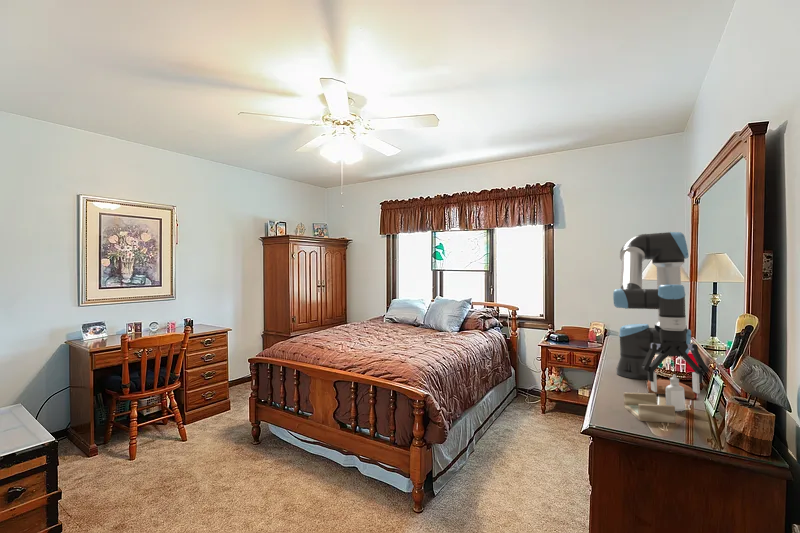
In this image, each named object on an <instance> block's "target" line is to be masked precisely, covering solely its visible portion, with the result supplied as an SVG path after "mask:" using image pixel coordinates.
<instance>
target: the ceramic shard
mask: <svg viewBox="0 0 800 533" xmlns="http://www.w3.org/2000/svg"><path fill="white" fill-rule="evenodd" d="M668 385H670V379H659V378H657V392H654V391H652V390H651V382H650V381H649V380H648V379H647V383H646V386H647V392H648V393H653V394H656V395H666V387H667V386H668ZM679 386H682V387H683V388H684V395H685V399H686V398H687V399H690V400H695V397H696V393H695V392H693V387H691V386H689V385H686V384H684V383H683V382H680V381H679Z"/></svg>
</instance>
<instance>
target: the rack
mask: <svg viewBox="0 0 800 533" xmlns="http://www.w3.org/2000/svg"><path fill="white" fill-rule="evenodd" d="M657 399H658V398H657V394H653V393H646V392H623V407H624V408H625V409H626V410H627V411H628V412H630V413H631V415H632V416H634V417H635V418H636V419H638V420H639V421H640V422H653V423H670V424H671V423H673V424H674V423H675V424H676V411H675V406H673V405H666V404H658V403H657V402H658V401H657Z"/></svg>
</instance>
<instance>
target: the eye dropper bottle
mask: <svg viewBox="0 0 800 533" xmlns="http://www.w3.org/2000/svg"><path fill="white" fill-rule="evenodd" d="M676 375H677V374H676V373H675V374H673V375H672V377H670V378H669V380H670V385H668V386H667V387H666V394H665V405H673V406H675V412H682V411H685V410H686V403H685V402H686V397H685V395H684V388H683V387H682V386H679V382H680V379H679V378H678V377H677V376H676Z"/></svg>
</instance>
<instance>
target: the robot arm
mask: <svg viewBox="0 0 800 533" xmlns="http://www.w3.org/2000/svg"><path fill="white" fill-rule="evenodd" d="M686 240H687V239H686V236H685V235H684V233H683V232H679V231H670V232H669V231H668V232H658V233H657V232H654V233H642V234H638V235H634V236H633V237H632V238H630V239H629V240H627V241H625V243H624V244H623V245H622V247H621V248H620V251H619V259H620V261H621V271H620V284H619V285H620V286H619V288H615V289H614V290H613V295H612V297H613V298H612V299H613V306H614V307H615V308H618V309H625V310H626V309H627V310H629V309H634V310H635V309H636V310H637V309H638V310H644V309H645V310H646V309H647V310H657V314H658V316H657V317H658V318H657V319H658V320H657V321H656V322H655V323H654V327H650V325H649V324H648V323H631V324H625V325H622V326H620V328H619V335H618V336H619V350H620V351H619V355H620V357H619V359H618V363H617V367H616V375H619V376H620V377H625V378H629V379H635V380H647V381H648V380H649V381H650V382H651V390H652V391H654V392H657V379H658V378H657V375H658V374H657V372H656V369H657V368H659V366H660V365H661V364H662V363H663V361H664V360H665V359H667V358H668V357H678V358H680V357H681V358H682V359H683V361H685V362H686V363H687V364H688V365H689V367H690V368H691V369H692V370H693V372H692V371H691V374H692V375H691V377H692V379H691V382H692V384H691V385H692V390H693V392H694V394H697V395H698V394H701V393H700V392H701V391H700V384H702V382H703V377H702V376H703V375H704V374H705V373H708V372H709V368H708V366H707V365H706V363H705V361H704V360H703V357H702V355H701V354H700V351H699V347H698V345H697V344H696V343H694V342H693V343H692V342H691V341H692V330H691V329H689V328H688V326H687V320H686V319H687V318H686V292H685V291H686V290H685V286H684V285H682V280H681V279H682V278H681V275H682V274H681V267H682V265H684V264H685V259H688V258H689V249H688V245H687V241H686ZM644 260H647V261H648V260H651V261H652V263H651V264H652V265H653V266H655V268H656V286H657V288H643V262H644ZM689 352H690V353H691V354H692V356H693V358H694V359H695V360H692V358H691V357H690V355H689ZM655 355H657V356H656V357H655ZM653 359H654V360H653ZM695 361H696V363H695Z"/></svg>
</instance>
